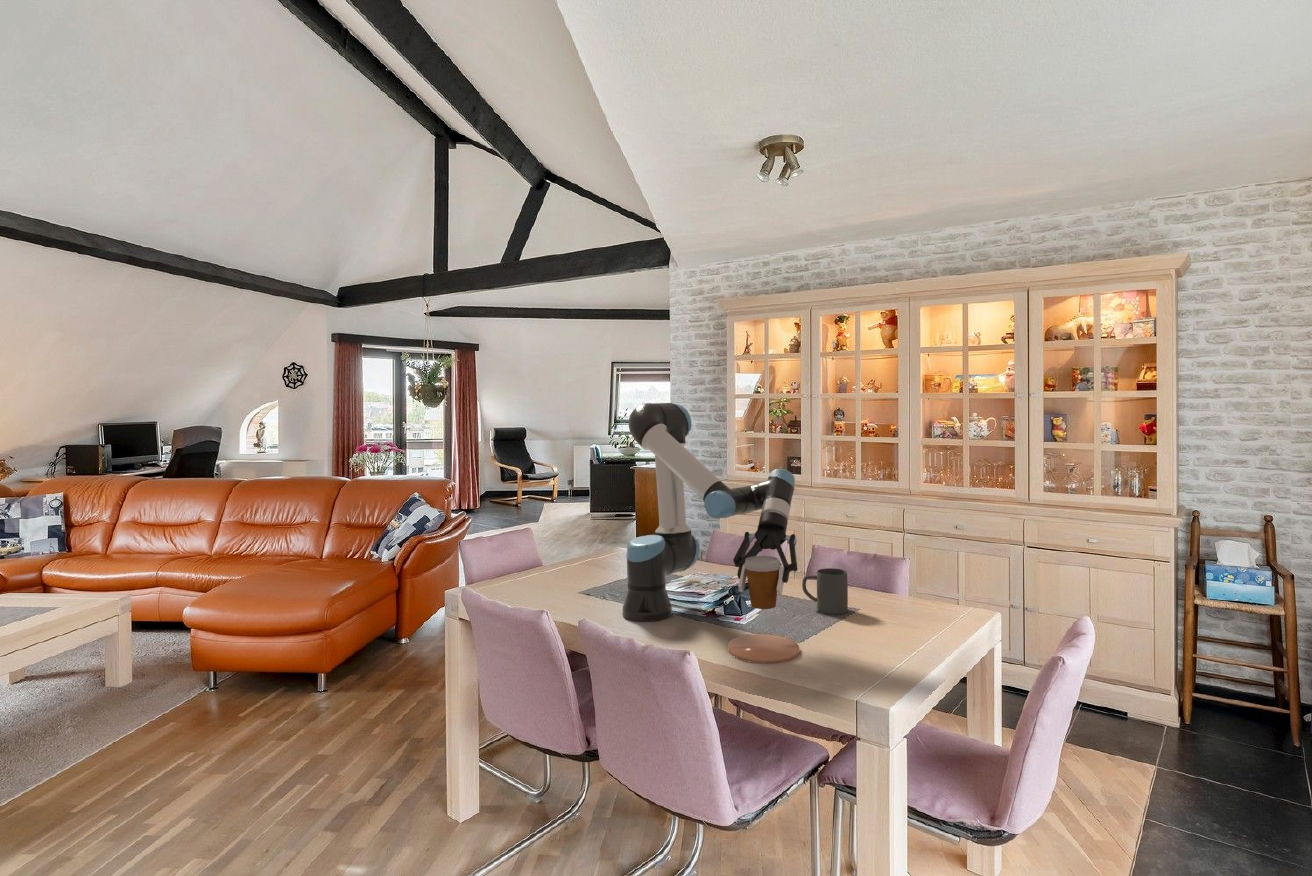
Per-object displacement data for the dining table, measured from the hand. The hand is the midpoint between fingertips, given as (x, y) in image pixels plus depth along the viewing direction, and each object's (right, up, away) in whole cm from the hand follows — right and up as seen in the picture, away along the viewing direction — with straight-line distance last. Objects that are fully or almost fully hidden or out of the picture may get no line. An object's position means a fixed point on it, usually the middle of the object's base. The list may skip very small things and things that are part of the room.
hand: (759, 590), depth 171 cm
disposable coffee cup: (+1, -5, +3) cm, 6 cm away
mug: (+26, -15, +38) cm, 48 cm away
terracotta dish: (+2, -16, +3) cm, 17 cm away
